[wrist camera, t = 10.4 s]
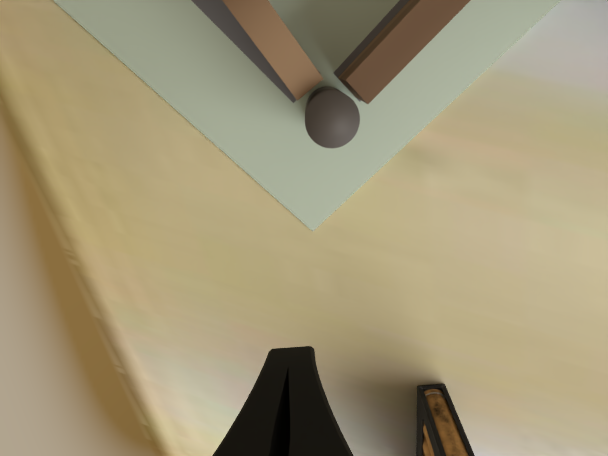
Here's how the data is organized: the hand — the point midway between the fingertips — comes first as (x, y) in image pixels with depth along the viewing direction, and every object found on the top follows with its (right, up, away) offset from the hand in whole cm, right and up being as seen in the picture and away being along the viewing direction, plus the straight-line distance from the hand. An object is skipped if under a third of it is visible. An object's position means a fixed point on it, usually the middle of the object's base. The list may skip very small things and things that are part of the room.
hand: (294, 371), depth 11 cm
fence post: (+4, +13, +5) cm, 14 cm away
